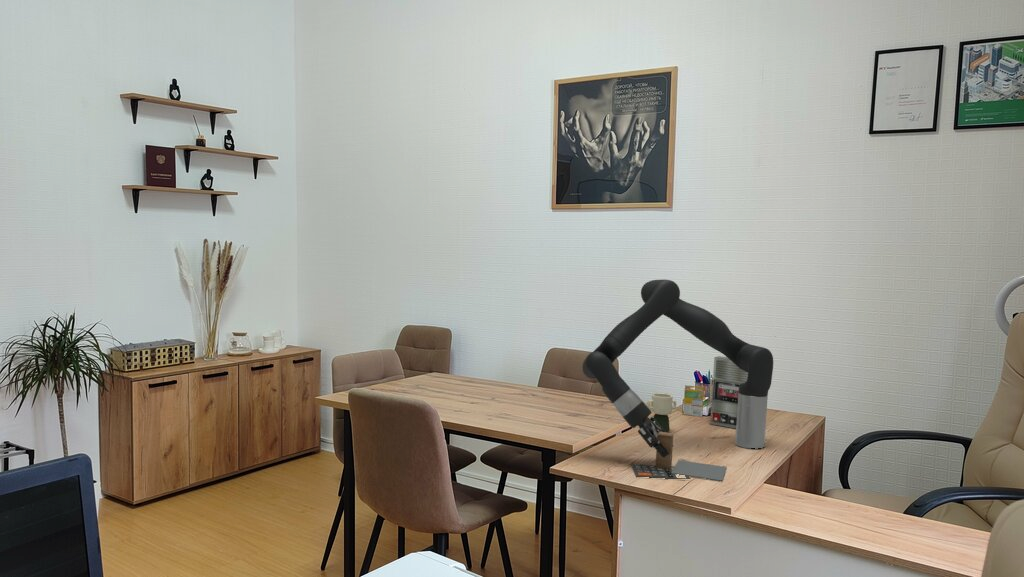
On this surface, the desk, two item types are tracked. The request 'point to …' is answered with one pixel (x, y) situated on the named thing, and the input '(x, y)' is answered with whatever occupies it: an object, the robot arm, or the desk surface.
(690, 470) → the mat
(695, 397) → the crayon box
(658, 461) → the block
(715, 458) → the desk surface
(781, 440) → the desk surface
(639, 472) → the calculator
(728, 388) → the cassette tape recorder
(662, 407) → the character mug
